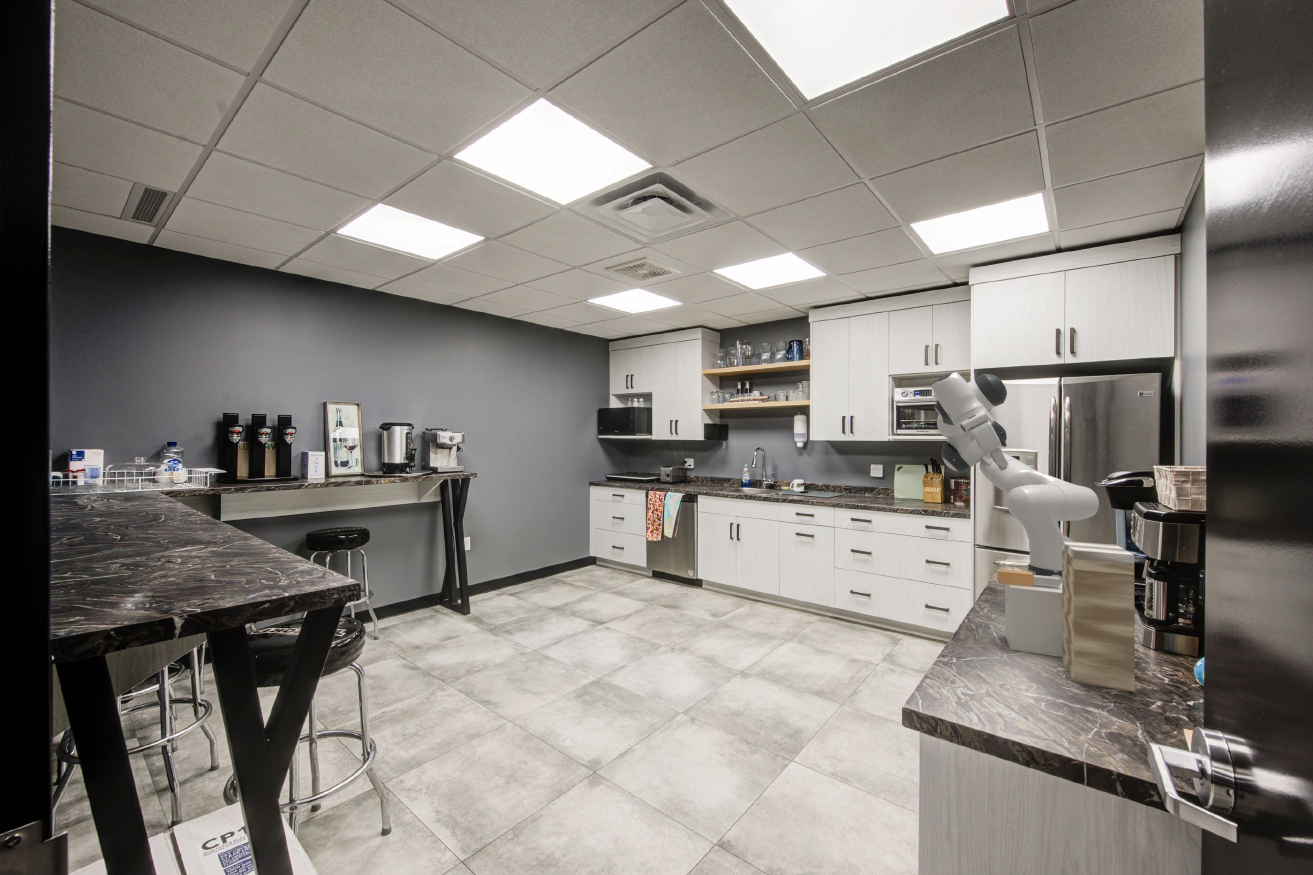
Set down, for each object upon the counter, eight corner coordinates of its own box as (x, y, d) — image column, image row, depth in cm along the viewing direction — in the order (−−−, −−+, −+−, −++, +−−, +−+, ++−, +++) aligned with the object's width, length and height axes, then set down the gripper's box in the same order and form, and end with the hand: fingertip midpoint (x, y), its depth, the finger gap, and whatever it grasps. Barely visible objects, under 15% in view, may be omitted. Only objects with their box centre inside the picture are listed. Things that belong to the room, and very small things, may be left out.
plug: (996, 580, 140) (996, 568, 140) (1057, 586, 135) (1057, 574, 135) (998, 583, 138) (998, 571, 138) (1060, 589, 132) (1060, 577, 132)
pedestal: (1005, 636, 143) (1005, 578, 143) (1070, 645, 136) (1070, 584, 136) (1010, 649, 134) (1010, 587, 134) (1080, 659, 127) (1080, 594, 127)
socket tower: (1062, 661, 126) (1062, 541, 127) (1116, 669, 122) (1116, 544, 122) (1074, 682, 116) (1074, 550, 116) (1134, 692, 111) (1134, 554, 111)
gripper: (964, 435, 158) (992, 476, 153) (962, 424, 141) (993, 470, 136) (986, 424, 155) (1015, 465, 150) (986, 411, 138) (1019, 458, 133)
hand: (1005, 468), depth 143 cm, fingers open, 8 cm apart
